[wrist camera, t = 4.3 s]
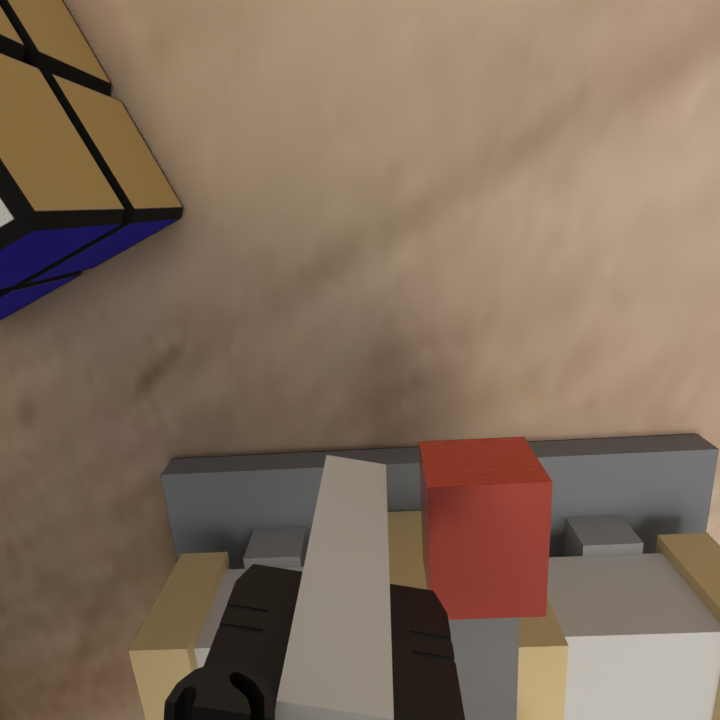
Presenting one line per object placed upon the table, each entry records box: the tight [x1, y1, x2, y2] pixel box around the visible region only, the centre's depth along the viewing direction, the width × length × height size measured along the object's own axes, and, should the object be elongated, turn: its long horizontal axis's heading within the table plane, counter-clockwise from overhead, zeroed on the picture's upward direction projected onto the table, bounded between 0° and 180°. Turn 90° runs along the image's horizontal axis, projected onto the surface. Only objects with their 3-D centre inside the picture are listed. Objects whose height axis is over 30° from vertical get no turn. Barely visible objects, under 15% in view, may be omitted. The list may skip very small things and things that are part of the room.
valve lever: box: [419, 437, 553, 720], centre depth 13 cm, size 13×3×3 cm, turn 4°
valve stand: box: [129, 434, 720, 720], centre depth 21 cm, size 24×11×9 cm, turn 94°
